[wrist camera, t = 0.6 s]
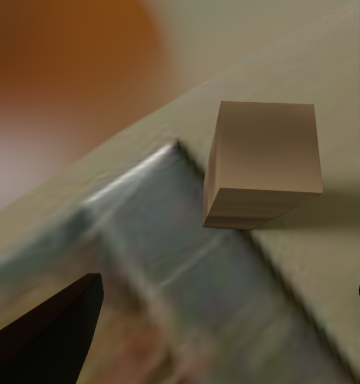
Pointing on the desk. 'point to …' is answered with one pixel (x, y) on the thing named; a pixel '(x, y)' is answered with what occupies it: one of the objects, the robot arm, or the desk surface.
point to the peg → (260, 163)
